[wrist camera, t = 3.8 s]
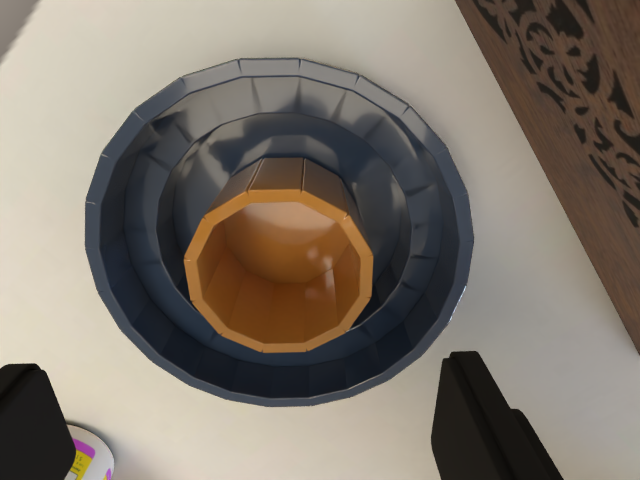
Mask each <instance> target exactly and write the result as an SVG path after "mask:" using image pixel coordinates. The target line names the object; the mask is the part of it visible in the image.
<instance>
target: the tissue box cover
mask: <svg viewBox="0 0 640 480" xmlns="http://www.w3.org/2000/svg"><path fill="white" fill-rule="evenodd" d="M455 1H456V3H457V5H458V7H459V9H460V11H461V13H462V15H463V16H464V18H465V20H466V22H467V24H468V26H469V28H470V30H471V32H472V34H473V36H474V38H475V40H476V41H477V43H478V45H479V47H480V49H481V51H482V53H483V55H484V57H485V59H486V61H487V63H488V64H489V66H490V68H491V70H492V72H493V74H494V76H495V78H496V80H497V82H498V84H499V86H500V88H501V89H502V91H503V93H504V95H505V97H506V99H507V101H508V103H509V105H510V107H511V109H512V111H513V112H514V114H515V116H516V118H517V120H518V122H519V124H520V126H521V128H522V130H523V132H524V134H525V135H526V137H527V139H528V141H529V143H530V145H531V147H532V149H533V151H534V153H535V155H536V157H537V159H538V160H539V162H540V164H541V166H542V168H543V170H544V172H545V174H546V176H547V178H548V180H549V182H550V183H551V185H552V187H553V189H554V191H555V193H556V195H557V197H558V199H559V201H560V203H561V205H562V206H563V208H564V210H565V212H566V214H567V216H568V218H569V220H570V222H571V224H572V226H573V228H574V230H575V231H576V233H577V235H578V237H579V239H580V241H581V243H582V245H583V247H584V249H585V251H586V253H587V254H588V256H589V258H590V260H591V262H592V264H593V266H594V268H595V270H596V272H597V274H598V276H599V278H600V279H601V281H602V283H603V285H604V287H605V289H606V291H607V293H608V295H609V297H610V299H611V301H612V302H613V304H614V306H615V308H616V310H617V312H618V314H619V316H620V318H621V320H622V322H623V324H624V325H625V327H626V329H627V331H628V333H629V335H630V337H631V339H632V341H633V343H634V345H635V347H636V349H637V350H638V352H639V354H640V0H455Z"/></svg>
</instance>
